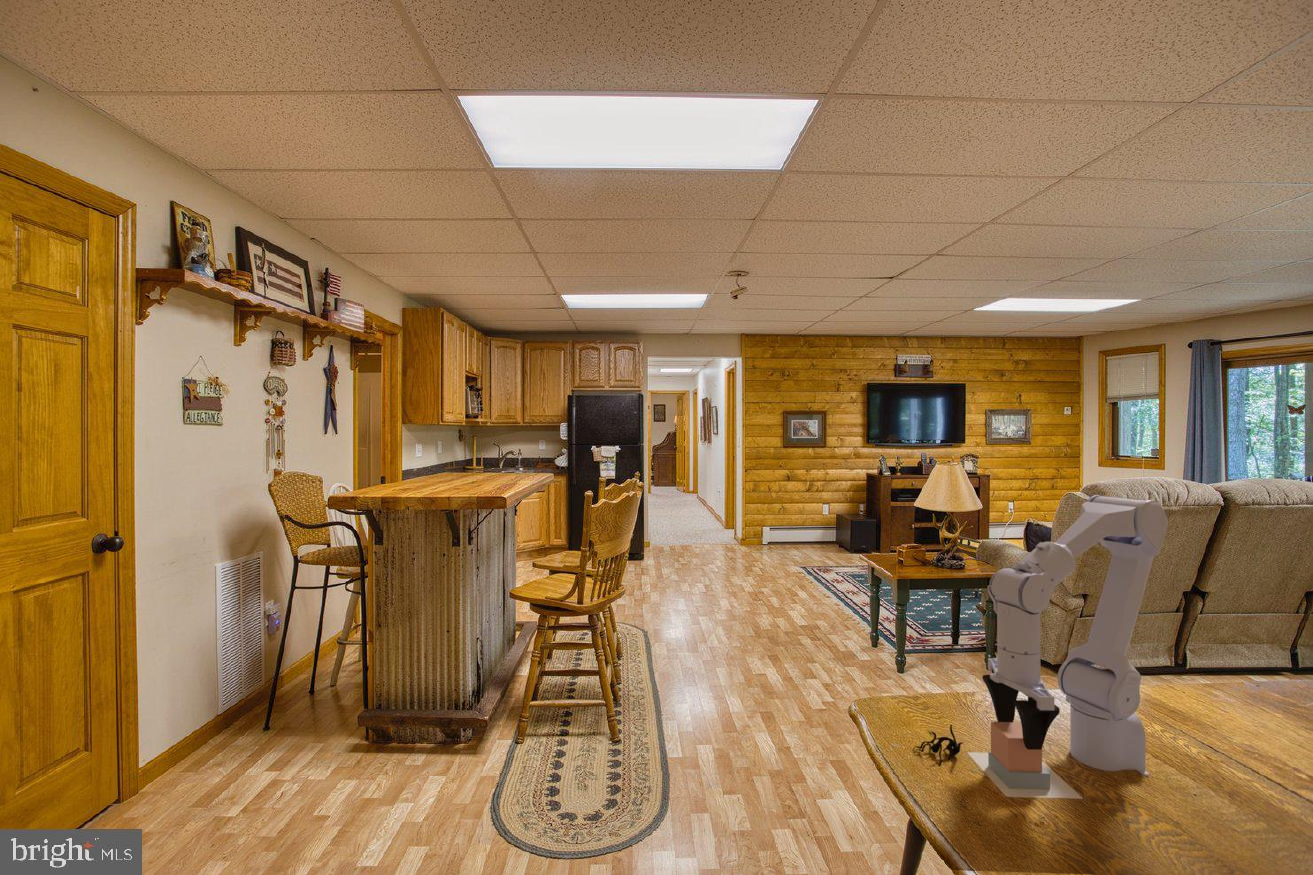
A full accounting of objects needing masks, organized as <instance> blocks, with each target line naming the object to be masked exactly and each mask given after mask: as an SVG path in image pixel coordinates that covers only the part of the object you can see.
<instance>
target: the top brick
mask: <svg viewBox="0 0 1313 875" xmlns="http://www.w3.org/2000/svg"><path fill="white" fill-rule="evenodd" d="M990 751H991V754H992V755H993V756H994V757H995V758H996V759H997V760H998V761H999V762H1000V763H1001V764H1002V765H1003V766H1004V767H1005V768H1006V769H1007V770H1008V771H1032V772H1042V761H1043V748H1042V749H1041V750H1029V749H1027V748H1026V747H1025V745H1024V741H1023V733H1022V725H1021V721H1020V722H1017V721H1015V722H1014V721H1013V722H998V721H990Z"/></svg>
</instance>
